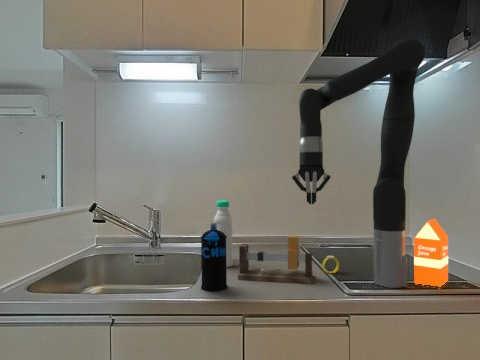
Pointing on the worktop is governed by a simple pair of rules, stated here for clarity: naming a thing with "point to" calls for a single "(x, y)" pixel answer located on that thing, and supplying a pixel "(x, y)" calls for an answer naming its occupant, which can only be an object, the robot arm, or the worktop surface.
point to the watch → (328, 259)
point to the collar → (293, 252)
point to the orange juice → (431, 255)
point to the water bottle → (225, 228)
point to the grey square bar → (271, 256)
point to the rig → (274, 271)
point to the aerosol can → (213, 259)
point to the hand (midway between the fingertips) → (311, 203)
